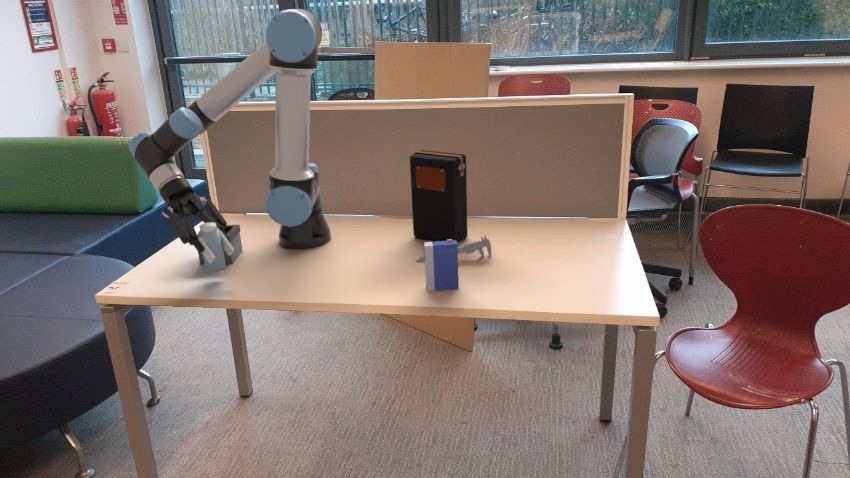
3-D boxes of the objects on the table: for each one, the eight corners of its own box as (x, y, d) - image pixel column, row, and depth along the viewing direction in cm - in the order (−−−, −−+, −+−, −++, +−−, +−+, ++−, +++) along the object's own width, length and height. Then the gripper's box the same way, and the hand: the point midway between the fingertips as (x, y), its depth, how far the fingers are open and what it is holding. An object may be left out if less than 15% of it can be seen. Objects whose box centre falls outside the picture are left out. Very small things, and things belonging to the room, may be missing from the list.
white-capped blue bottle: (228, 263, 164) (220, 221, 160) (222, 271, 159) (213, 228, 155) (209, 263, 164) (201, 222, 160) (202, 271, 160) (194, 228, 156)
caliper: (490, 256, 171) (490, 234, 169) (491, 257, 170) (491, 236, 168) (415, 261, 170) (414, 239, 167) (415, 262, 169) (414, 240, 166)
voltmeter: (470, 237, 184) (469, 153, 175) (455, 247, 177) (453, 160, 168) (425, 228, 192) (421, 148, 183) (409, 238, 185) (405, 154, 176)
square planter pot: (243, 250, 181) (239, 224, 178) (233, 263, 172) (228, 236, 169) (211, 251, 181) (206, 225, 179) (199, 264, 173) (194, 237, 170)
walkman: (456, 284, 155) (455, 238, 150) (458, 289, 152) (457, 242, 148) (425, 286, 154) (423, 240, 150) (426, 291, 151) (424, 245, 147)
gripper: (198, 184, 171) (246, 252, 168) (136, 203, 158) (186, 277, 154) (206, 168, 166) (256, 237, 163) (142, 185, 153) (195, 261, 149)
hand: (222, 256), depth 158 cm, fingers closed on white-capped blue bottle, 5 cm apart
